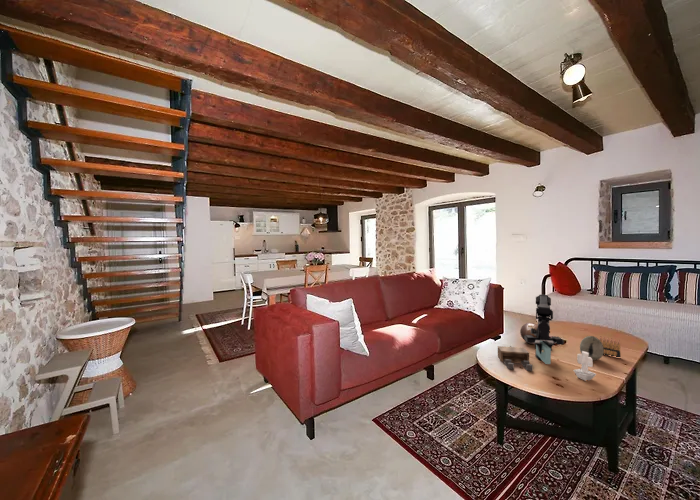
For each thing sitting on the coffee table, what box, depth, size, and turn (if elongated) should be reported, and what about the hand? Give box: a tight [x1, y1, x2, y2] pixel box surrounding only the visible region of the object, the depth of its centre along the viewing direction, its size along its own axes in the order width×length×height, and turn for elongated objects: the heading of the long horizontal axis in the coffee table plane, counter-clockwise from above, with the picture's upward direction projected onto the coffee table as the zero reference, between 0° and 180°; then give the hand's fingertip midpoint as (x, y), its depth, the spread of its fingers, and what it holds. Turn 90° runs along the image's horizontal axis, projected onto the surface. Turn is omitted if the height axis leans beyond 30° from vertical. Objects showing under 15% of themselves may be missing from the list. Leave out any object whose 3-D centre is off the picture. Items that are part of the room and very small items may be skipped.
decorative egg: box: [579, 335, 604, 361], centre depth 184 cm, size 12×12×15 cm
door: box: [535, 341, 552, 365], centre depth 172 cm, size 14×4×9 cm, turn 167°
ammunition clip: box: [599, 336, 621, 357], centre depth 189 cm, size 11×2×12 cm, turn 41°
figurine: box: [572, 351, 597, 382], centre depth 161 cm, size 7×9×15 cm
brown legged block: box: [497, 345, 534, 372], centre depth 181 cm, size 16×18×7 cm
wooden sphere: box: [519, 322, 538, 345], centre depth 213 cm, size 15×15×15 cm
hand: (543, 353), depth 172 cm, fingers closed on door, 2 cm apart
